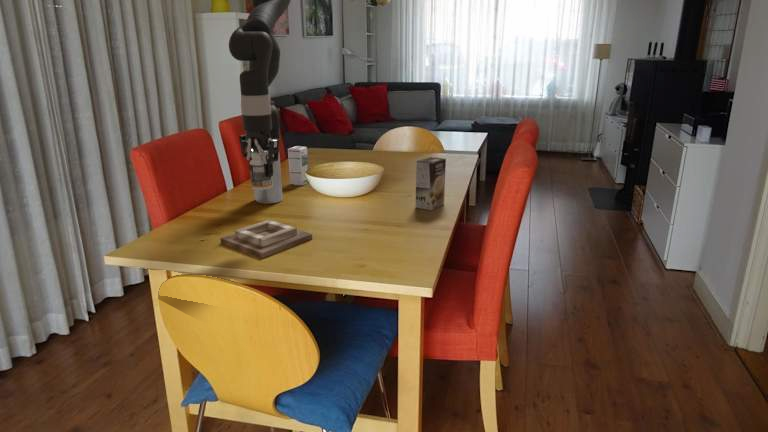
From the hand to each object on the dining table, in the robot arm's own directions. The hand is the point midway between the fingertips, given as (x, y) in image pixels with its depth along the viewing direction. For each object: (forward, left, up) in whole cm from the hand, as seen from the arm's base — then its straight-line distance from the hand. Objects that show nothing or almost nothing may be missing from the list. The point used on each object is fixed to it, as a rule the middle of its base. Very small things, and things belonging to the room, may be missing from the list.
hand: (261, 174), depth 143 cm
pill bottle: (0, 0, -4) cm, 4 cm away
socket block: (0, 0, -19) cm, 19 cm away
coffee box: (+18, +56, -19) cm, 62 cm away
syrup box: (-40, +50, -19) cm, 67 cm away
